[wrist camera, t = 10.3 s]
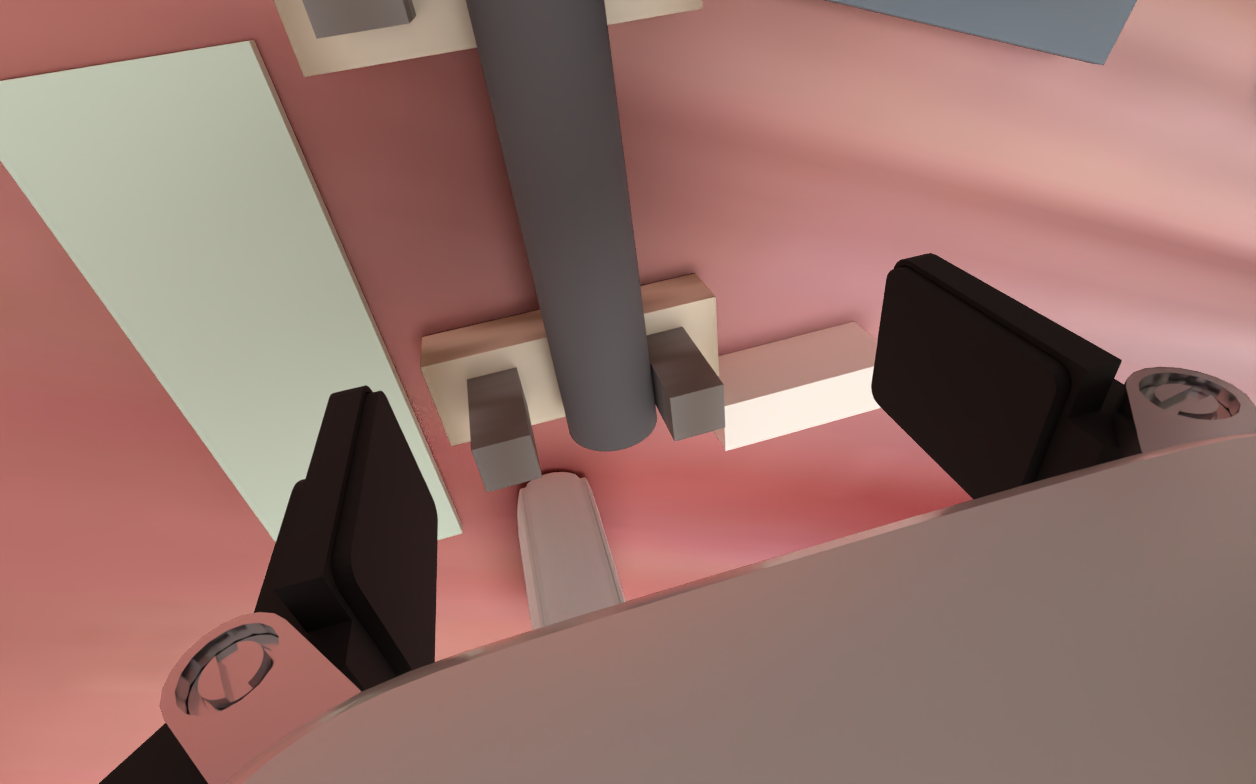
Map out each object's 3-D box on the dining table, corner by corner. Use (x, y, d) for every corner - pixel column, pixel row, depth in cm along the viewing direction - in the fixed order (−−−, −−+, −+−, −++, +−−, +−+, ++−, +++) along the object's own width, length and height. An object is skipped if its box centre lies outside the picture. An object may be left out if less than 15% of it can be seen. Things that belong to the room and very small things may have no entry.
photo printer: (597, 588, 37) (655, 811, 27) (528, 603, 36) (561, 839, 26) (592, 461, 31) (663, 684, 21) (509, 475, 30) (542, 715, 20)
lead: (622, 384, 26) (675, 420, 24) (553, 422, 25) (602, 465, 22) (540, -117, 16) (616, -145, 14) (416, -106, 15) (477, -136, 12)
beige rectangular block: (696, 402, 31) (725, 450, 28) (692, 360, 29) (723, 406, 26) (848, 362, 32) (893, 404, 29) (852, 319, 30) (901, 359, 27)
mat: (303, 568, 30) (301, 578, 29) (-37, 87, 17) (-51, 89, 17) (462, 524, 31) (462, 533, 31) (253, 39, 18) (248, 40, 18)
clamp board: (450, 412, 27) (453, 523, 22) (257, -94, 17) (162, -135, 11) (699, 349, 29) (762, 437, 23) (666, -148, 18) (766, -209, 13)
